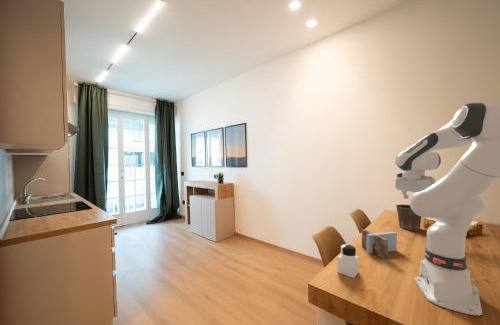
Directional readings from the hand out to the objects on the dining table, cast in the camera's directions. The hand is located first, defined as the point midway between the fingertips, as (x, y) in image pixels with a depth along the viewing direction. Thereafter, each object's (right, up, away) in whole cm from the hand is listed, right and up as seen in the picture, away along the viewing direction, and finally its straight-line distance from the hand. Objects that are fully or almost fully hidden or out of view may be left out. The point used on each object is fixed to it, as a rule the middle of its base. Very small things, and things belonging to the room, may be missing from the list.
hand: (414, 200), depth 115 cm
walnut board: (-22, -29, 0) cm, 36 cm away
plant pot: (+27, -28, +40) cm, 56 cm away
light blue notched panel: (-17, -29, +1) cm, 34 cm away
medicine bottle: (-46, -29, -20) cm, 58 cm away
